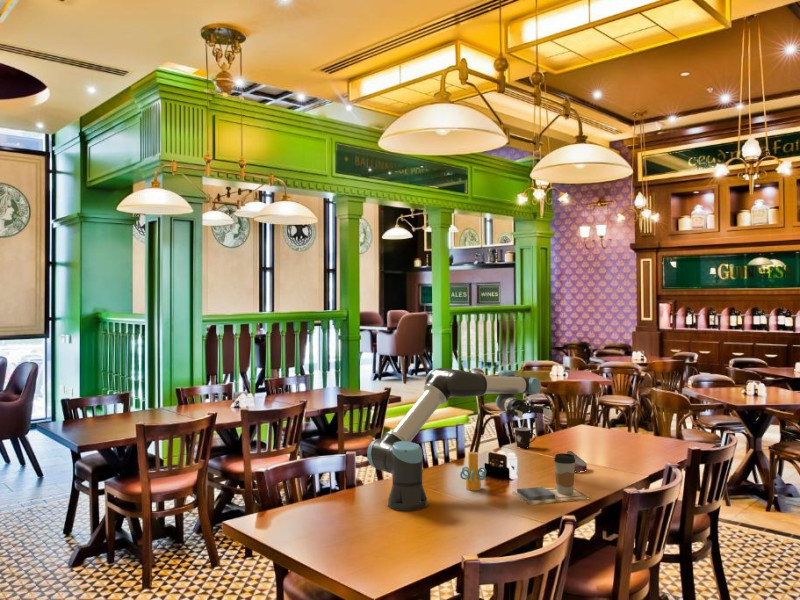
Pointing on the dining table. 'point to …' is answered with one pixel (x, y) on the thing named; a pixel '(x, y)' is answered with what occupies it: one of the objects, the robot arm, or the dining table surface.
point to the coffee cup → (564, 473)
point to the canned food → (578, 463)
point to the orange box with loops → (473, 473)
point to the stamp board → (546, 495)
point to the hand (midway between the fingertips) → (536, 414)
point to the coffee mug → (523, 437)
